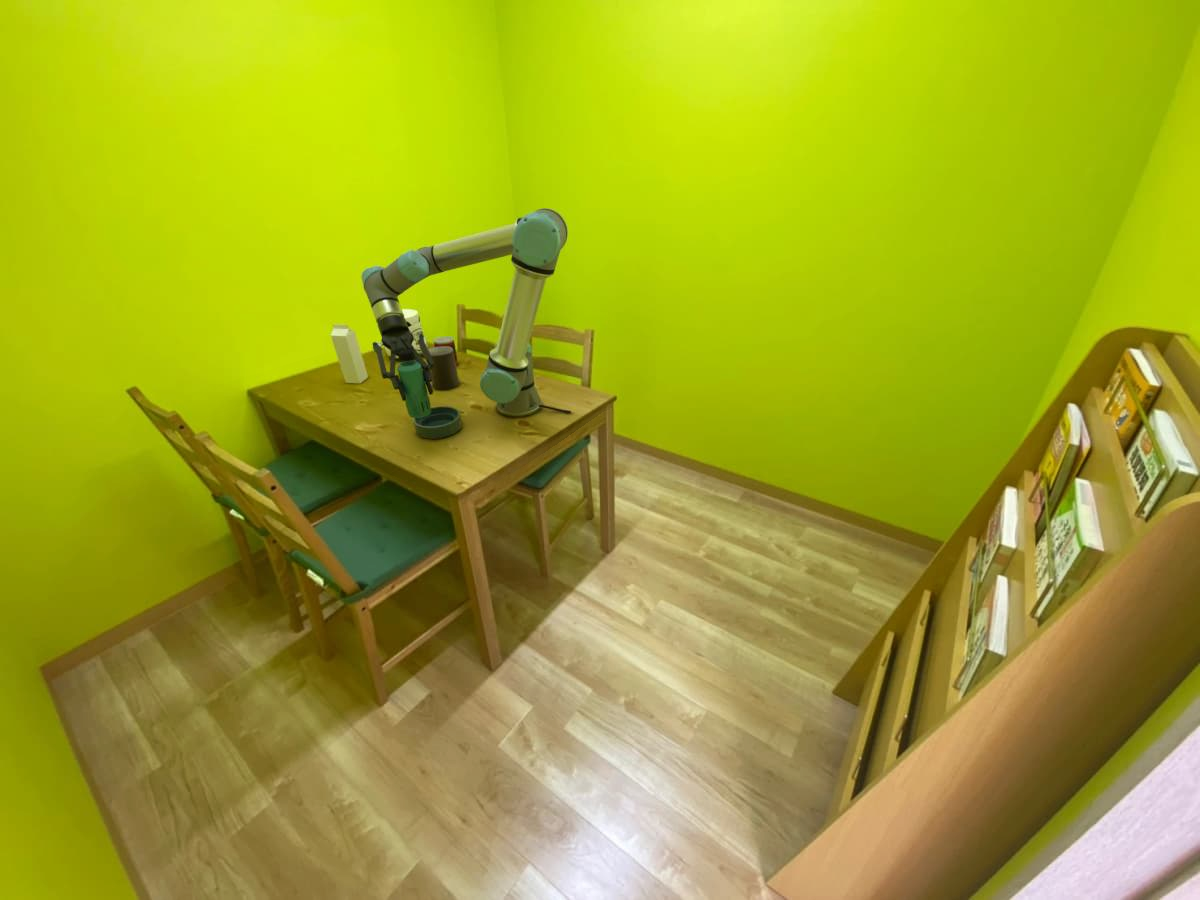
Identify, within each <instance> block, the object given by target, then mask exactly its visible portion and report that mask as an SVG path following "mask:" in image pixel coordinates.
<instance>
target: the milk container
mask: <svg viewBox="0 0 1200 900" xmlns="http://www.w3.org/2000/svg"><path fill="white" fill-rule="evenodd" d="M401 309H402V311H403V314H404V318H405V320H406V322H407V325H408V328H409V330H410V332H411V333H412V334H413V335H415V336H419V335H420V334H423V336H424V342H425V345H426V347H427V349H428V350H429V348H428V347H429V346H428V339H427V337H426V335H425V334H424V331H423V326H422V322H421V317H420V315H419V312H418V310H416V309H413V308H412V309H410V308H401ZM412 346H413V347H414V349H415V350H416V351H417V353H418V354H419V355H420V356H421V357H422V356H424V355H423V353H422V351H421V349H420V346H419V344H417V343H416V341H415V340H413V342H412ZM384 350H385V352H386V354H387V356H388V357H390V356H391V350H389V349H388V348H386V347H385V346H384ZM395 360H399V358H398V353H396V359H395Z"/></svg>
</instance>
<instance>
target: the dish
mask: <svg viewBox="0 0 1200 900" xmlns="http://www.w3.org/2000/svg"><path fill="white" fill-rule="evenodd" d="M412 418H413V417H412ZM412 423H413V426H414V427H413V428H414V430H415V433H416V434H417V436H419V437H421V438H422V439H423V438H424V439H429V440H430V439H441V438H442V439H443V438H447V437H449V436H452V435H454V434H456V433H457V432H458V431H460V430H461V429H462V427H463V422H462V416H461V412H460V410H458V409H457V408H456V407H453V406H447V405H445V406H444V405H443V406H442V405H441V406H440V405H439V406H433V407H432V406H431V413H430V414H429V415H428V416H425V417H422V418H413V419H412Z"/></svg>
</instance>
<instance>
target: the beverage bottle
mask: <svg viewBox="0 0 1200 900" xmlns="http://www.w3.org/2000/svg"><path fill="white" fill-rule="evenodd" d="M398 358H399V359H398V361H400V362H401V363H399V364H398V366H397V367H396V370H397V373H398V374H397V375H398V376H399V379H400V382H401V385H402V387H403V390H404V393H405V396H406V400H405V401H404V403H405V406H406V411H407V414H408V416H409V417H410V418H422V417H425V416H428V415H429V414H430V413H431V408H432V406H431V401H430V396H429V395H428V394H429V393H428V389H427V386H426V383H425V380H424V376H423V372H422V370H423V369H422V368H421V364H419V363H418V362H416V361H415V360H414V359H415V355H414V352H413V350H411V349H405V350H401V351H399V352H398Z"/></svg>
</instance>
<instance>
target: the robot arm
mask: <svg viewBox="0 0 1200 900" xmlns="http://www.w3.org/2000/svg"><path fill="white" fill-rule="evenodd" d="M568 231H569V230H568V225H567V222H566V221H565V219H564V218H563V216H562V215H561V214H560V213H559V212H558V211H557V210H554V209H551V208H547V207H545V208H544V207H543V208H538V209H536V210H535V211H533V212H530V213H527V214H525V215H524V216H522V217H518V218H516V219H515V222H514V223H512V224H508V225H503V226H500V227H496V228H493V229H489V230H486V231H482V232H478V233H474V234H471V235H467V236H464V237H463V236H462V237H460V238H456V239H453V240H448V241H445V242H441V243H438V244H434V245H430V246H422V247H420V248H417V249H416V250H414V249H409V250H407V251H406V252H404V253H402V254H400V255H399V256H398V257H397V258H396V259H395V260H393V261H392V262H391V263H390V264H388V265H387V266H386V267H383V266H380V265H372V266H371V267H367V268H365V269H364V270H363V271H362V272H361V275H360V276H361V277H360V278H361V283H362V285H363V290H364V293H365V294H366V297H367V299H368V302H369V304H370V308H371V311H372V313H373V316H374V319H375V322H376V324H377V328H378V331H379V334H380V336H381V340H380V341H377V342H376V341H373V342H372V349H373V351H374V352H375V354H376V356H377V360H378V365H379V369H380V374H381V378H382V379H384V380H385V379H389V380H390V382H391V384H392V387H393V389H394V390H398V392H399V395H400V398H401V400H402V402H405V400H406V396H405V393H404V390H403V387H402V385H401V382H400V378H399V374H396V360H397V359H396V353H398V352H399V351H401V350H405V349H411V350H413V352H414V355H415V359H413V361H416V362H418V363H419V364H421V368H422V372H423V376H424V380H425V383H426V384H425V385H426V389H427V392H428V394H429V395H430V396H432V395H433V394H434V392H433V391H434V388H433V385H432V375H431V372H430V370H431V369H433V368H434V361H433V359H432V357H431V355H430V353H429V351H428V350H429V348H428V349H427V347H426V345H425V342H424V336H425V335H424V336H423V334H424V333H423V334H420V335H419V336H415V335H413V334H412V333H411V332H410V330H409V328H408V325H407V322H406V320H405V318H404V314H403V311H402V309H403V308H402V307H401V303H400V301H399V296H400V295H402V294H403V293H405V292H406V291H407V290H409V289H410V288H412V287H414V286H415V285H417V284H418V283H420V282H421V281H423V280H425V279H427V278H428V277H430V276H433V275H437V274H441V273H445V272H449V271H452V270H457V269H460V268H464V267H468V266H473V265H476V264H480V263H484V262H488V261H492V260H496V259H500V258H504V257H509V256H511V258H510V262H511V264H512V265H513V267H514V271H513V275H512V281H511V283H510V288H509V293H508V297H507V301H506V306H505V310H504V313H503V318H502V322H501V327H500V329H499V330H500V331H499V335H498V339H497V343H496V344H495V345H494V348H492V349H491V350H490V351H489V354H488V359H487V362H486V367H485V370H484V372H482V374H481V377H480V380H479V387H480V390H481V392H482V393H483V394H484V396H485V397H486V398H487V399H489V401H492V402H494V403H496V410H497V412H498V413H499V414H500V415H502V416H504V417H508V418H509V417H510V418H524V417H529V416H532V415H534V414H536V413H538V412H539V411H540V410H541V409H542V408H544V409H547V410H552V411H556V412H560V413H566V414H571V413H572V411H571V410H567V409H563V408H562V409H561V408H557V407H553V406H549V405H544V404H542V400H541V399H542V398H541V397H540V394H539V392H538V390H537V388H536V385H535V377H534V375H535V374H534V363H533V362H534V361H533V350H532V346H531V344H530V340H531V336H532V333H533V329H534V326H535V322H536V317H537V314H538V311H539V307H540V304H541V301H542V296H543V293H544V289H545V285H546V281H547V279H549V278H550V277H552V276H553V275H555V274H554V273H555V270H556V267H557V263H558V260H559V256H560V253H561V250H562V249H564V247H565V245H566V244H567V243H566V242H567V240H568V235H569V234H568V233H569V232H568ZM413 340H415V341H416V343H417V344H419V346H420V349H421V351H422V353H423V355H422V356H423V357H424V358H423V357H422V356H420V355H419V354H418V353H417V351H416V350H415V349H414V347H413V346H412V342H413ZM385 347H386V348H388V349H389V350H391V356H389V357H390V360H389V371H387V368H386V364H385V363H386V362H385V360H384V356H383V355H384V354H383V348H385ZM424 359H425V360H424Z"/></svg>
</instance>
